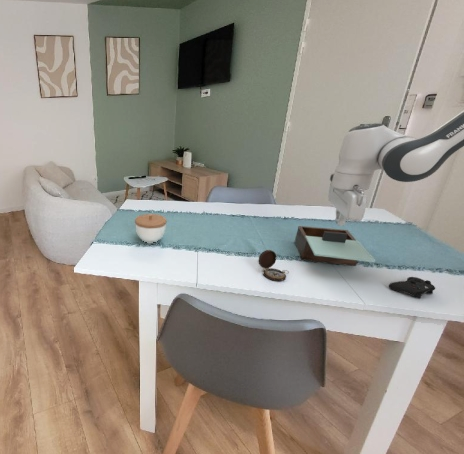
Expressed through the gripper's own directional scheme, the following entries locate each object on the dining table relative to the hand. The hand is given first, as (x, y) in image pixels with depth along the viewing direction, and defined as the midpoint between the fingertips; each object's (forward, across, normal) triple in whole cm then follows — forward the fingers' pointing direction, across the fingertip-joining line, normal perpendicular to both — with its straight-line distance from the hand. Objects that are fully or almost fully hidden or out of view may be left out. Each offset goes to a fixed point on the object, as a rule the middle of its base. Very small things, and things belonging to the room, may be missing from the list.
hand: (339, 224), depth 92 cm
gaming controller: (+14, -12, -17) cm, 25 cm away
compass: (+14, -14, +17) cm, 26 cm away
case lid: (+7, -4, 0) cm, 8 cm away
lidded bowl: (+14, 0, +61) cm, 63 cm away
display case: (+14, +6, 0) cm, 15 cm away
